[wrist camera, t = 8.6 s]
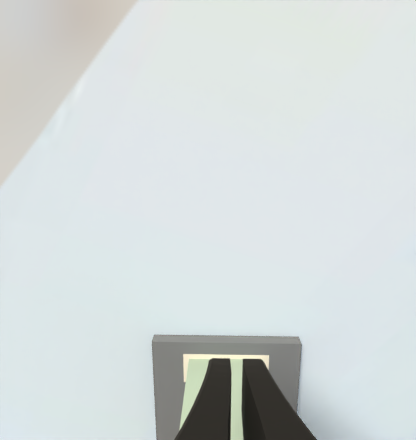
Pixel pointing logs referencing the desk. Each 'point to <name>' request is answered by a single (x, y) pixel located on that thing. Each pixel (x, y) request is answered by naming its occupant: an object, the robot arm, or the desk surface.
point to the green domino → (193, 386)
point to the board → (207, 349)
